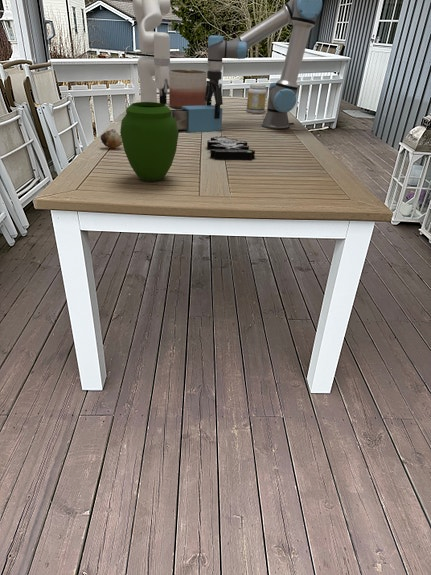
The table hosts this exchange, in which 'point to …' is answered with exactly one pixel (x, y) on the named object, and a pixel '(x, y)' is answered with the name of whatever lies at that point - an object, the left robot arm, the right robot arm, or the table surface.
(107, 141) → the seashell
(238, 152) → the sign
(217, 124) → the blue storage bin
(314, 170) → the table surface
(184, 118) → the drawer
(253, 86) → the supplement tub
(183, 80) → the planter
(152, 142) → the vase
